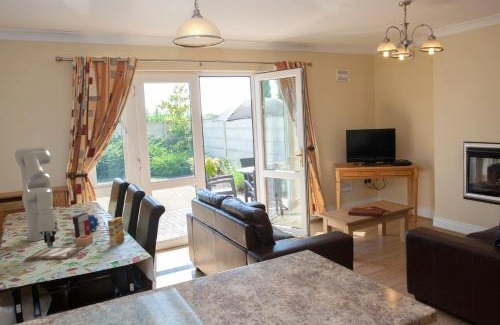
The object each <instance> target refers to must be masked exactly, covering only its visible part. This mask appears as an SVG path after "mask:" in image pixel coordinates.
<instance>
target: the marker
mask: <svg viewBox="0 0 500 325" xmlns="http://www.w3.org/2000/svg"><path fill="white" fill-rule="evenodd" d="M50 236H51V235H50V231H46V238H47V243H46V246H47V247H48V248H52V247H54V242H53V243H51V242H50Z"/></svg>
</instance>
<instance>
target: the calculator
mask: <svg viewBox="0 0 500 325" xmlns="http://www.w3.org/2000/svg"><path fill="white" fill-rule="evenodd" d="M88 214H89V213H87V212H82V213H80V214H77V215H75V216H72V224H73V227H74V235H75V239H76V238H78V237H80V236H86V235H91V231H90V226H89V220H88Z"/></svg>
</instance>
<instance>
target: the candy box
mask: <svg viewBox="0 0 500 325" xmlns="http://www.w3.org/2000/svg"><path fill="white" fill-rule="evenodd" d="M107 228H108V236H109V237H108V238H109V246H111V247H112V246H113V247H116V246H118V245H121V244H122V243H124V241H125V231H124V223H123V217H122V216H116V217H114V218H112V219H109V220H107Z"/></svg>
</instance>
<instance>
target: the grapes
mask: <svg viewBox="0 0 500 325" xmlns="http://www.w3.org/2000/svg"><path fill="white" fill-rule="evenodd" d="M88 220H89V226H90V232H92V231H93V230H95V231H96V230H97V229H98V226H100V223H99V218H98V217H96V216H95V214H91V215H90V214H89V213H88Z"/></svg>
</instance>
